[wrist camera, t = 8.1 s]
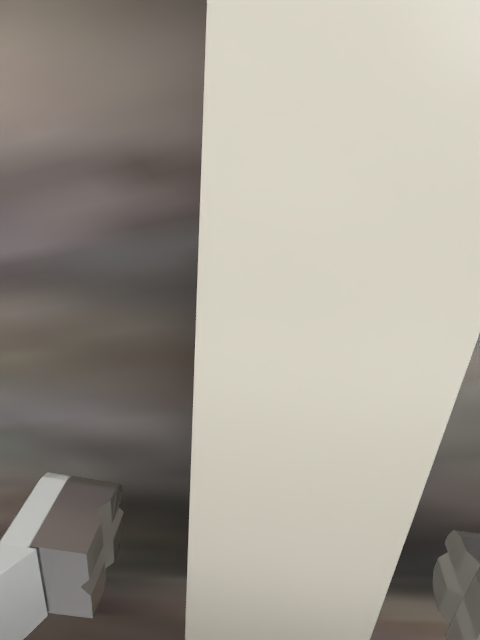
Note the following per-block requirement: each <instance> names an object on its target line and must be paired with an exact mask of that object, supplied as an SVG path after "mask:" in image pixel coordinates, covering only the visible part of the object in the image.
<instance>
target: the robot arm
mask: <svg viewBox="0 0 480 640" xmlns="http://www.w3.org/2000/svg"><path fill="white" fill-rule="evenodd" d="M122 498H123V490H122V485H121V484H117V483H111V482H105V481H99V480H93V479H87V478H81V477H75V476H68V475H62V474H55V473H49V472H48V473H46V474H45V475H44V476H43V477H42V478H40V480H39V481H38V483H37V484H36V486H35V487H34V489H33V491H32V492H31V494H30V495H29V497H28V498H27V500H26V501H25V503H24V505H23V506H22V508H21V509H20V511H19V512H18V514H17V515H16V517H15V519H14V520H13V522H12V523H11V525H10V526H9V528H8V529H7V531H6V533H5V534H4V536H3V537H2V539H1V540H0V640H23V639H24V638H25V637H26V636H27V635H28V634H29V633H31V632H32V631H33V630H34V629H35V628H36V627H37V626H38V625H39V624H40V623H41V622H42V621H43V620H44V619H45V618H46V617H47V616H48V614H47V613H54V614H62V615H70V616H78V617H86V618H93V617H94V614H95V612H96V609H97V606H98V604H99V601H100V598H101V596H102V593H103V590H104V588H105V585H106V574H105V569H106V568H107V567H108V566H110V565H111V564H112V563H113V562H114V561H115V558H116V555H117V552H118V550H119V546H120V542H121V538H122V534H123V525H124V512H123V511H122V510H121V509H120V508H119V506H120V503H121V501H122ZM445 545H446V548H447V551H448V552H447V553H446V554H444V555H442V556H440V557H439V558H438V559H437V562H436V565H435V567H434V572H433V590H434V597H435V601H436V604H437V608H438V611H439V612H440V613H441V614H442V615H443V616H444V618H445V619H446V620H447V621H448V622H449V623H450V625H449V627H448V630H447V632H446V634H445V636H446V640H480V534H478V533H471V532H463V531H455V530H453V531H452V532H451V533H449V534H448V537H447V539H446V541H445Z"/></svg>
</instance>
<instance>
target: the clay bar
mask: <svg viewBox="0 0 480 640" xmlns="http://www.w3.org/2000/svg"><path fill="white" fill-rule="evenodd" d="M479 333H480V0H207V20H206V48H205V77H204V106H203V135H202V163H201V192H200V221H199V250H198V278H197V307H196V336H195V365H194V393H193V422H192V451H191V480H190V508H189V537H188V566H187V595H186V623H185V640H370V638H371V635H372V632H373V629H374V626H375V624H376V621H377V618H378V615H379V612H380V610H381V607H382V604H383V601H384V598H385V596H386V593H387V590H388V587H389V584H390V582H391V579H392V576H393V573H394V571H395V568H396V565H397V562H398V559H399V557H400V554H401V551H402V548H403V545H404V543H405V540H406V537H407V534H408V531H409V529H410V526H411V523H412V520H413V518H414V515H415V512H416V509H417V506H418V504H419V501H420V498H421V495H422V492H423V490H424V487H425V484H426V481H427V478H428V476H429V473H430V470H431V467H432V464H433V462H434V459H435V456H436V453H437V451H438V448H439V445H440V442H441V439H442V437H443V434H444V431H445V428H446V425H447V423H448V420H449V417H450V414H451V411H452V409H453V406H454V403H455V400H456V397H457V395H458V392H459V389H460V386H461V384H462V381H463V378H464V375H465V372H466V370H467V367H468V364H469V361H470V358H471V356H472V353H473V350H474V347H475V344H476V342H477V339H478V336H479Z"/></svg>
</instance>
